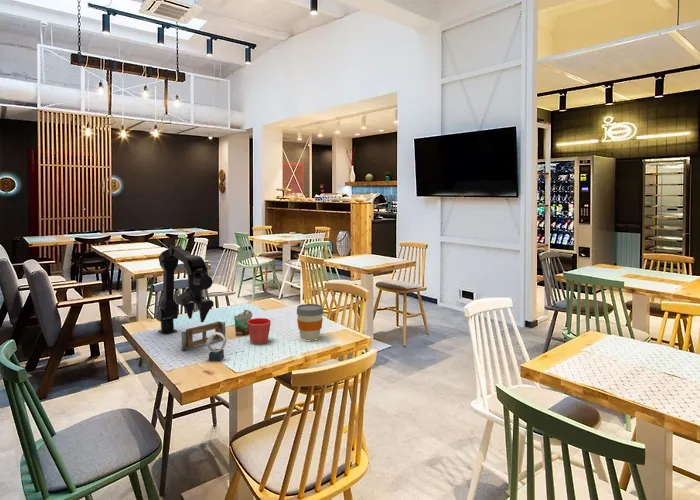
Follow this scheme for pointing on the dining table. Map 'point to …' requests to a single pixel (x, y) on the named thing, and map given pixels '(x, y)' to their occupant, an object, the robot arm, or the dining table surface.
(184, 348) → the grey piece
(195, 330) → the wooden frame
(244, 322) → the food container
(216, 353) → the ring on dark base
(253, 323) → the flower pot
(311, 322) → the reusable coffee cup
